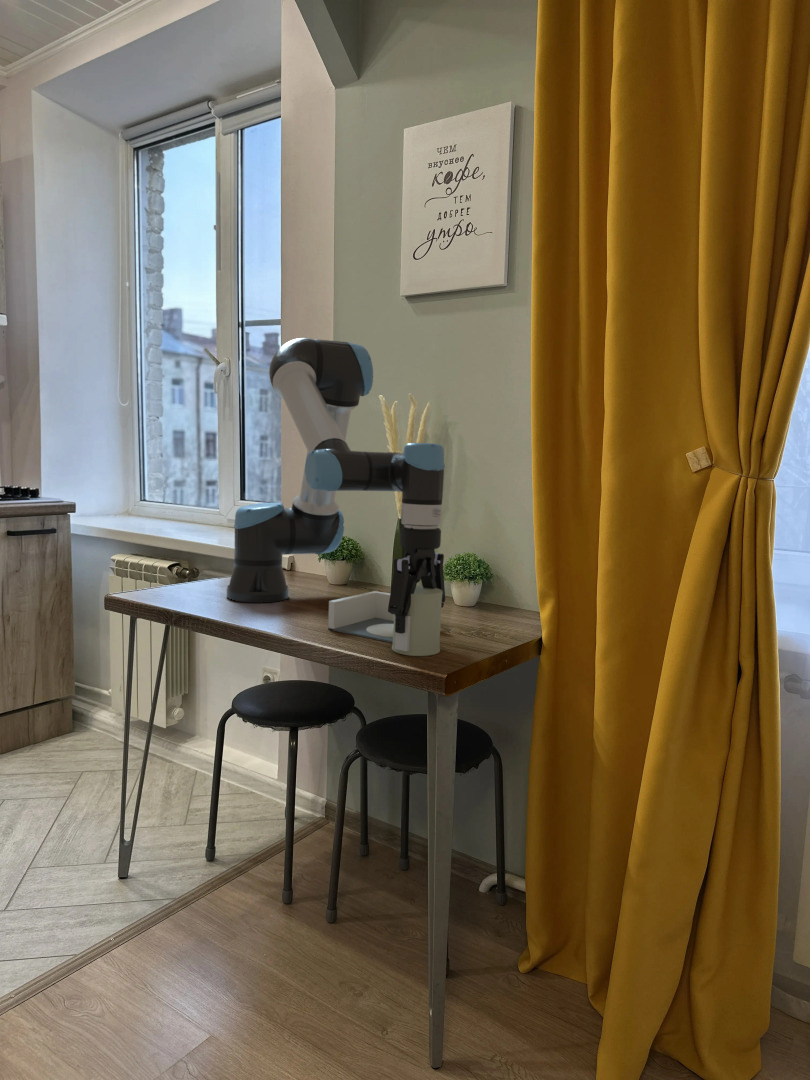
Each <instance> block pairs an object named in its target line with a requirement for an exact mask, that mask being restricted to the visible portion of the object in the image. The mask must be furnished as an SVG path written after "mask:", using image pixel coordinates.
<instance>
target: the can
mask: <svg viewBox="0 0 810 1080" xmlns="http://www.w3.org/2000/svg"><path fill="white" fill-rule="evenodd" d="M442 593H443V591H442V590H440V589H438V588H435V589H430V588H424V587H423V586H422V585H416V588H415V591H414V594H411V605H410V608H409V612H408V616H411V619H410V644H409V651H403V650H398V649H395V614H394V628H393V643H391V644H392V645H391V651H393V652H394V653H397V654H400V655H404V656H409V657H429V656H434V655H436V654H439V653H440V652H441V648H440V647H441V646H440V645H441V643H440V642H441V619H442V608H441V605H442V603H443V602H442ZM394 607H395V606H394Z"/></svg>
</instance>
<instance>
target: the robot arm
mask: <svg viewBox="0 0 810 1080" xmlns="http://www.w3.org/2000/svg"><path fill="white" fill-rule="evenodd" d="M268 371H269V373H268V374H269V380H270V384H271V385H272V386H271V387H272V388H273V390H274V392H275V394H276V395H277V396H278V397H279V398H281V399H283V401H284V403H285V405H286V407H287V409H288V411H289V414H290V415H291V418H292V420H293V422H294V424H295V426H296V429H297V431H298V433H299V435H300V437H301V440H302V442H303V444H304V446H305V448H306V450H307V451H306V456H305V463H304V469H303V476H302V482H301V487H300V494H298V495H297V496H295V497H294V498H293V500H292V505H291V507H289V508H287V507H286V508H285V506H284V504H283V503H282V502H278V501H277V502H275V501H274V502H273V501H272V502H260V503H252V504H247V505H243V506H240V507H238V509H236V511H235V514H234V515H235V517H234V524H233V528H234V551H233V552H234V556H233V557H234V564H233V569H232V573H231V576H230V580H229V584H228V585H227V587H226V598H227V597H228V598H229V600H231V599H232V601H234V600H235V602H242V603H275V602H280V601H281V602H282V601H284V600H286V599H288V598H289V593H290V592H289V586H288V585H287V582H286V577H285V573H284V570H283V556H285V555H313V554H315V555H321V554H327V553H328V554H330V553H331V552H334V551H335V550H336V549H337V548H338V547H339V545H341V542H342V540H343V536H344V532H345V531H344V530H345V526H344V523H345V519H344V515H343V512H342V511H341V510H340V509H339V508H340V506H339V504H338V503H337V502H336V500H335V498H336V493H337V492H345V491H346V492H347V491H348V492H353V491H354V492H356V491H359V492H361V491H362V492H363V491H364V492H399V493H401V494H402V495H401V510H400V511H401V514H400V523H401V525H403V526H402V527H401V528H400V540H399V541H400V546H401V547H403V548H404V549H405V550H404V554H403V555H404V556H403V558H394V560H393V576H392V582H391V588H390V600H389V606H388V612H389V613H391V614H395V649H398V650H403V651H409V644H410V619H411V616H408V612H409V608H410V605H411V594H414V591H415V588H416V586H418V585H417V584H418V583H419V582H420V581H421V586H423V587H424V588H430V589H435V588H438V589H440V590H442V591H443V593H442V605H441V609H443V608H444V606H445V605H444V604H445V602H446V589H445V588H446V587H445V586H446V585H445V577H444V574H445V573H444V561H445V559H444V558H445V555H444V554H443V553H439V552H436V550H437V549H439V548H440V547H441V541H442V540H441V538H442V530H441V528H439V526H441V524H442V515H443V511H442V509H443V507H442V506H443V505H442V504H443V498H444V496H443V494H444V478H445V477H444V476H445V467H446V466H445V465H446V464H445V448H444V447H443V445H442V444H440V443H430V442H429V443H426V442H408V443H406V444H405V445H404V448H403V453H402V452H395V451H394V452H392V451H391V452H390V451H388V452H381V451H380V452H379V451H362V450H361V451H357V450H356V451H355V450H351V448H350V447H349V445H348V443H347V440H346V438H347V434H348V427H349V421H350V418H351V417H350V415H351V412H352V410H354V409H356V408H357V407H358V406H359V404H360V397H365V396H368V395H369V394H370V392H371V390H372V387H373V385H374V384H373V382H374V368H373V361H372V358H371V355H370V353H369V351H368V350H367V349H366V348H365V346H363V345H361V344H357V343H356V344H355V343H353V342H348V341H340V340H339V341H338V340H328V339H327V340H326V339H316V338H311V337H299V338H298V337H297V338H294V339H291V340H289V341H287V342H285V343H284V344H282V345H281V346H280V347H279V348H278V349H277V350H276V352H275V353H274V355H273V356H272V358H271V362H270V365H269V370H268ZM228 598H227V599H228ZM394 606H395V607H394Z"/></svg>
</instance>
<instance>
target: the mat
mask: <svg viewBox="0 0 810 1080" xmlns="http://www.w3.org/2000/svg"><path fill="white" fill-rule="evenodd" d="M393 628H394V621H391V620H385V619H380V618H372V619H368V620H365V621H361V622H357V623H353V624H350V625H346V626H342V627H339V628H335V629H332V630H331V629H328V628H327V630H329V631H333V632H338V633H343V634H348V635H353V636H358V637H362V638H367V639H371V640H377V641H381V642H385V643H391V644H393Z"/></svg>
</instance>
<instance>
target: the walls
mask: <svg viewBox="0 0 810 1080" xmlns="http://www.w3.org/2000/svg"><path fill="white" fill-rule="evenodd" d="M390 593H391V592H390ZM390 593H389V592H382V591H377V590H373V591H369V592H364V593H359V594H355V595H351V596H350V595H349V596H346V597H340V598H337V599H332V600H329V601H328V624H327V625H328V626H327V630H328V629H331V630H330V631H333V630H332V629H335V628H339V627H342V626H346V625H350V624H353V623H357V622H361V621H365V620H368V619H372V618H380V619H385V620H391V621H394V614H391V613H389V612H388V606H389V600H390Z"/></svg>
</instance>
